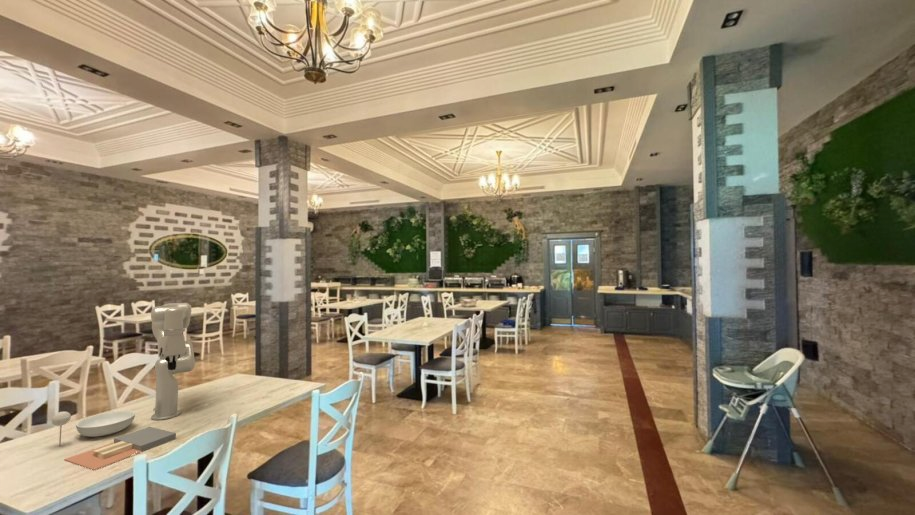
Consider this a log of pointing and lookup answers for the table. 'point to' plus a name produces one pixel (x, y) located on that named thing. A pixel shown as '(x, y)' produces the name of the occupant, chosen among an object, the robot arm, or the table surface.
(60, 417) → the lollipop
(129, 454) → the rust mat
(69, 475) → the table surface
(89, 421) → the serving bowl
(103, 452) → the slatted wooden pallet
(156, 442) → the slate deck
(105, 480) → the table surface
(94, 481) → the table surface
